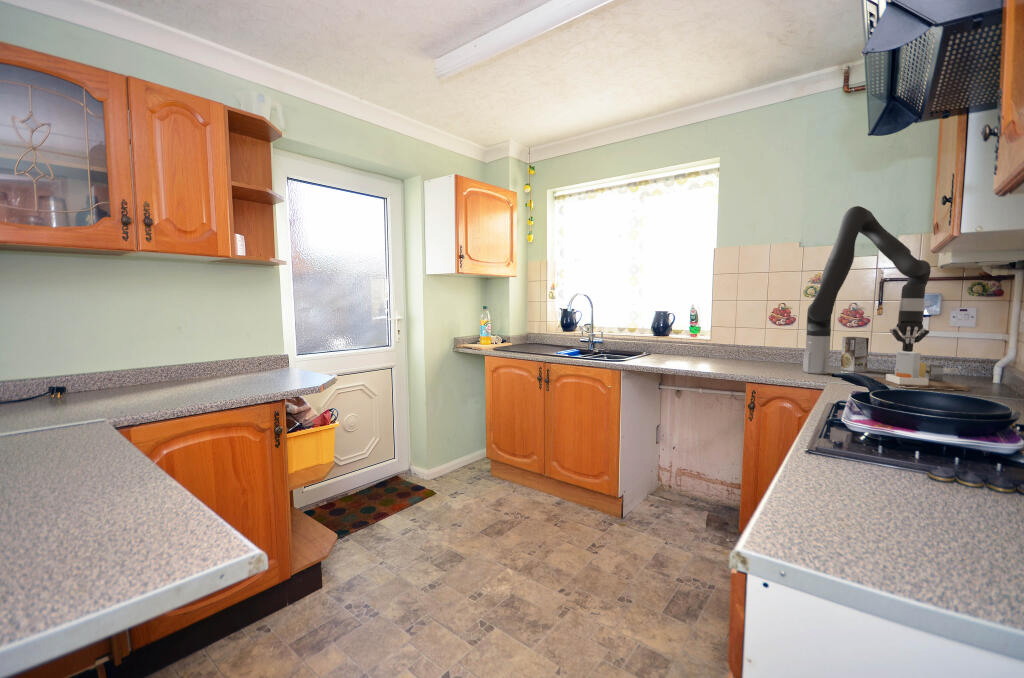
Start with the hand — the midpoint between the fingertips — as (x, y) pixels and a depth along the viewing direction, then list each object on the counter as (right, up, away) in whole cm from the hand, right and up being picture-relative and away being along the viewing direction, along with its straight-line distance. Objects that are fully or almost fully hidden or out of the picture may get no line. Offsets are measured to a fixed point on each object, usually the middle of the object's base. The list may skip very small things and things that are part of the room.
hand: (907, 352), depth 182 cm
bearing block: (+9, -11, -1) cm, 14 cm away
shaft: (+10, -10, -2) cm, 14 cm away
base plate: (0, -13, -5) cm, 14 cm away
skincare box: (-7, -12, -8) cm, 16 cm away
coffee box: (+4, -10, +33) cm, 35 cm away
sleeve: (-7, -11, -7) cm, 15 cm away
